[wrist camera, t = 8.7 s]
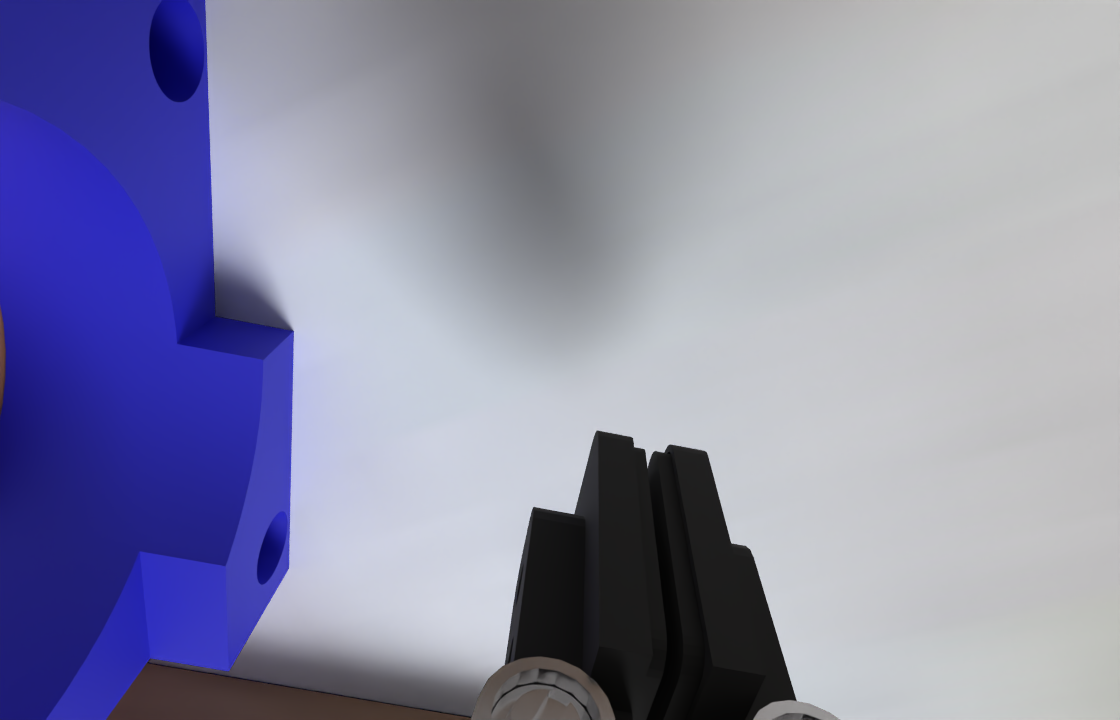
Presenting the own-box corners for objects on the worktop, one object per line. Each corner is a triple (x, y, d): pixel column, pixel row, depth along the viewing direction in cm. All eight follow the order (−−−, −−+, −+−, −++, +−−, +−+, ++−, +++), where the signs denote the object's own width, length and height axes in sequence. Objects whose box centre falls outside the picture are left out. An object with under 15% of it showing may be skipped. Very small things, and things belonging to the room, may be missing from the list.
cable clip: (291, 563, 16) (132, 837, 10) (95, 529, 16) (-173, 789, 10) (304, -20, 11) (7, -88, 5) (15, -80, 10) (-605, -215, 5)
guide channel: (-203, -458, 9) (-567, -686, 6) (1067, -164, 9) (1264, -249, 7) (31, 686, 18) (-72, 804, 15) (672, 792, 18) (686, 923, 16)
